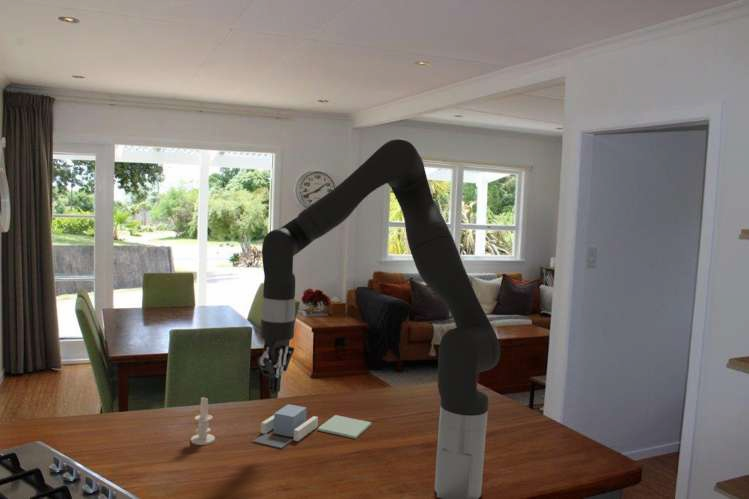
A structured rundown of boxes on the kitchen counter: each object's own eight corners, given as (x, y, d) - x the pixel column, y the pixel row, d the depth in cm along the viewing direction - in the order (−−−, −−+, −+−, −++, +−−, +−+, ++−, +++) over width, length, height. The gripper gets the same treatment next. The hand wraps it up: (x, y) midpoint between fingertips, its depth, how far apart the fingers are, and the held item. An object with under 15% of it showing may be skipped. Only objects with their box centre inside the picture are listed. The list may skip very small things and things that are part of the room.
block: (292, 437, 143) (293, 416, 142) (273, 433, 144) (274, 413, 144) (305, 427, 149) (306, 407, 149) (287, 423, 151) (288, 404, 151)
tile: (355, 438, 144) (355, 436, 144) (317, 430, 148) (317, 428, 148) (371, 424, 153) (371, 422, 153) (335, 417, 157) (335, 414, 157)
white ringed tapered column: (204, 433, 142) (205, 390, 141) (219, 440, 139) (221, 395, 138) (185, 440, 137) (187, 395, 136) (201, 447, 134) (202, 401, 133)
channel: (286, 450, 135) (286, 439, 135) (248, 441, 139) (248, 430, 139) (317, 426, 150) (318, 416, 150) (282, 419, 153) (282, 409, 153)
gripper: (277, 324, 129) (273, 404, 131) (306, 314, 141) (302, 387, 143) (247, 320, 132) (243, 397, 133) (278, 310, 144) (274, 381, 146)
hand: (274, 392), depth 138 cm, fingers closed
